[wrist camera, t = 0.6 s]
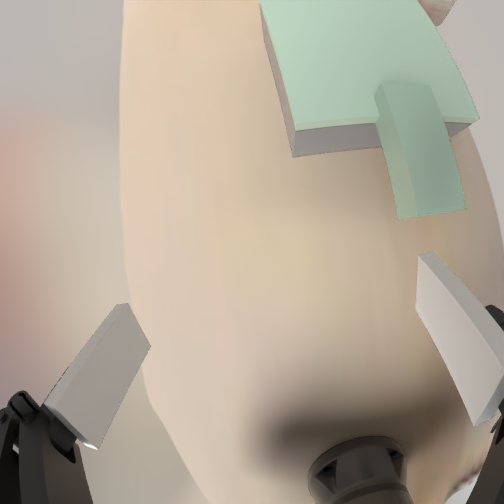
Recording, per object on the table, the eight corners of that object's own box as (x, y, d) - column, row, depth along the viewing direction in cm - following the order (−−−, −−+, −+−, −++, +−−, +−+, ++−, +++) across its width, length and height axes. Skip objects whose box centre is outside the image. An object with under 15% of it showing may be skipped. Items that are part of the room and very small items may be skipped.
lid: (487, 206, 22) (517, 201, 17) (314, 233, 24) (322, 231, 19) (410, 10, 22) (421, -13, 17) (260, 9, 24) (255, -21, 19)
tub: (439, 144, 29) (471, 123, 21) (292, 157, 31) (295, 131, 23) (396, 37, 29) (412, 6, 21) (264, 41, 31) (259, 3, 23)
